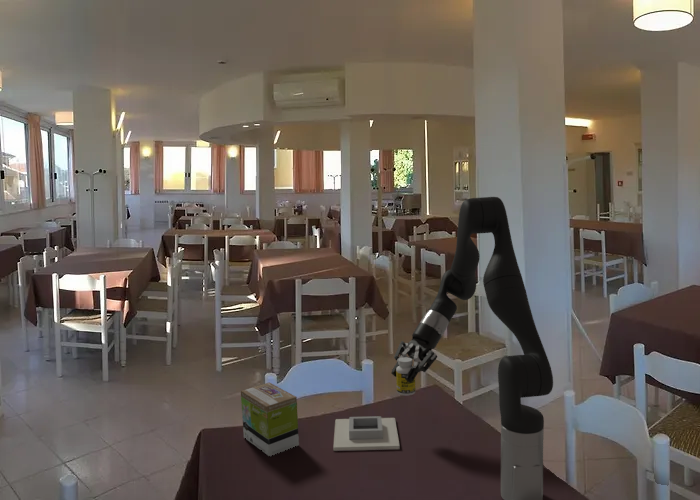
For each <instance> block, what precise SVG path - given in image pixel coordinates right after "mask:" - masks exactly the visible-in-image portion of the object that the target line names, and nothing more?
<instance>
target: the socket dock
mask: <svg viewBox="0 0 700 500" xmlns="http://www.w3.org/2000/svg"><path fill="white" fill-rule="evenodd" d="M399 440H400V439H399V435H398V429H397V422H396V418H395V417H382V416H381V415H379V416H377V415H376V416H375V415H374V416H372V415H371V416H370V415H369V416H349V418H336V419H335V422H334V435H333V451H334V452H338V451H339V452H341V451H343V452H344V451H377V450H378V451H379V450H380V451H381V450H382V451H383V450H384V451H385V450H386V451H387V450H401V449H400V441H399Z"/></svg>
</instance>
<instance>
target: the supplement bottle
mask: <svg viewBox="0 0 700 500" xmlns="http://www.w3.org/2000/svg"><path fill="white" fill-rule="evenodd" d="M398 364H399V366H398V367H397V368H396V377H395V378H396V393H397V394H398V395H400V396H412V395H414V394H416V378H415V379H414V380H413V381H412V382H411V383H409V382H408V381H407V380H406V379H405V378H406V376H407V374H408V373H409V371H410V369H411V368H413V364H414V360H413V359H411V358H407V357H404V358H400V359H399V360H398Z"/></svg>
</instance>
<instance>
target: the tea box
mask: <svg viewBox="0 0 700 500" xmlns="http://www.w3.org/2000/svg"><path fill="white" fill-rule="evenodd" d="M297 398H298V397H297V396H295V395H294V394H292V393H290V392H288V391H286V390H285V389H283V388H281V387H278V386H277V385H275V384H274V383H272V382H267V383H263V384H259V385H257V386H256V385H255V386H253V387H250V388H247V389H244V390H240V402H241V413H242V414H241V415H242V418H241V419H242V430H243V432H242V433H243V438H244V439H245V438H246V441H248V442H249V443H251V444H252V445H253V446H255V447H256V448H257V449H259V450H260V451H261V450H262V451H261V452H263V453H264V454H266V456H267V457H269V456H270V457H272V455H273V456H275V454H276V455H278V454H281V453H283V452H286V451H288V449H289V450H291V449H293V447H294V448H296V447H298V446H299V445H300V442H299V441H300V438H299V421H298V399H297ZM295 446H296V447H295ZM290 448H291V449H290ZM285 450H286V451H285ZM280 452H281V453H280ZM277 453H278V454H277Z"/></svg>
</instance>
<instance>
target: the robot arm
mask: <svg viewBox="0 0 700 500" xmlns="http://www.w3.org/2000/svg"><path fill="white" fill-rule="evenodd" d="M457 223H458V224H457V230H456V231H457V234H456V245H455V246H456V247H455V252H454V257H453V260H452V262H451V267H450V269H448V270H446V271H445V272H444V273H443V275H442V277H441V280H440V284H439V289H438V292H437V294H436V296H435V299H434V300H433V302H432V304H431V305H430V307H429V309H428V310H427V312H426V313H425V314H424V315H423V317H422V318H421V320H420V322H419V323H418V325H417V326H416V328H415V329H414V331H413V332H412V334H411V335H412V338H411V340H410V341H409V342H405V341H403V340H402V341H400V343H399V345H398V348H397V350H396V352H395V353H394V356H393V359H395V361H396V363H395V365H394V367H392V369H391V374H392V376H393V377H395V378H396V368H397V367H398V366H399V364H398V360H399V359H400V358H404V357H407V358H411V359H412V360H413V364H412V366H413V368H411V369H410V371H409V373H408V374H407V376H406V378H405V379H406V380H407V381H408V382H409V383H411V382H412V381H413V380H414V379H415V380H416V377H417V375H418V374H419V373H421V372H423V373H426V372H427V371H428V369H429V368H430V367H431V366H432V365H433V364H434V362H435V361H436V359H437V358H438V355H437V354H436V353H435V351H433V350H435V349H436V347H437V345H438V343H439V341H440V340H441V339H442V337H443V335H444V334H445V332H446V330H447V328H448V325H449V324H450V321H451V320H452V318H453V317H454V315H455V313H456V312H457V310H458V306H457V304H456V303H455V301H453V300H452V299H451V298H450V297H449V296H448V293H449V294H450V295H452V296H453V297H456V298H458V299H459V300H462V301H468V300H470V299H472V297H473V296H475V292H476V290H477V276H476V271H477V269H478V265H479V262H480V251H479V249H478V247H477V245H476V244H475V243H474V241H473V239H472V237H471V235H472V234H477V235H478V234H489V233H491V234H492V236H493V238H494V247H493V252H492V254H491V257H490V259H489V261H488V264H487V265H486V268H485V271H484V274H483V280H482V282H483V288H484V291H485V296H486V301H487V304H488V306H489V308H490V310H491V311H492V313H493V314H494V315H495V316H496V318H498V320H500V321H501V322H502V324H504V326H506V327H507V328H508V329H509V330H510V332H511V333H512V334H513V335H514V336H515V338H516V339H517V342H518V343H519V346H520V348H521V350H522V352H523V354H516V355H507V356H503V357H502V358H500V361H499V364H498V370H497V379H498V380H497V381H498V402H499V403H498V404H499V413H500V496H501V498H502V499H503V500H543V499H544V497H543V496H544V433H545V432H544V431H545V430H544V427H545V421H544V420H545V418H544V414H543V413H542V412H541V411H540V410H538V409H536V408H535V407H532V406H529V405H525V404H522V400H521V399H523V398H530V397H531V398H533V397H542V396H548V395H549V394H550V393H552V391H553V387H554V377H553V371H552V367H551V363H550V361H549V358H548V356H547V353H546V350H545V348H544V346H543V345H544V344H543V342H542V339H541V337H540V335H539V332H538V329H537V327H536V322H535V319H534V316H533V313H532V310H531V307H530V303H529V298H528V294H527V289H526V286H525V282H524V280H523V276H522V273H521V270H520V266H519V264H518V260H517V257H516V253H515V248H514V245H513V240H512V236H511V230H510V225H509V224H510V223H509V220H508V215H507V210H506V207H505V204H504V201H503V200H502V199H501V198H500V197H498V196H487V197H483V196H482V197H473V198H470V197H469V198H467V199H464V201H462V203H461V205H460V208H459V215H458V221H457Z"/></svg>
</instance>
